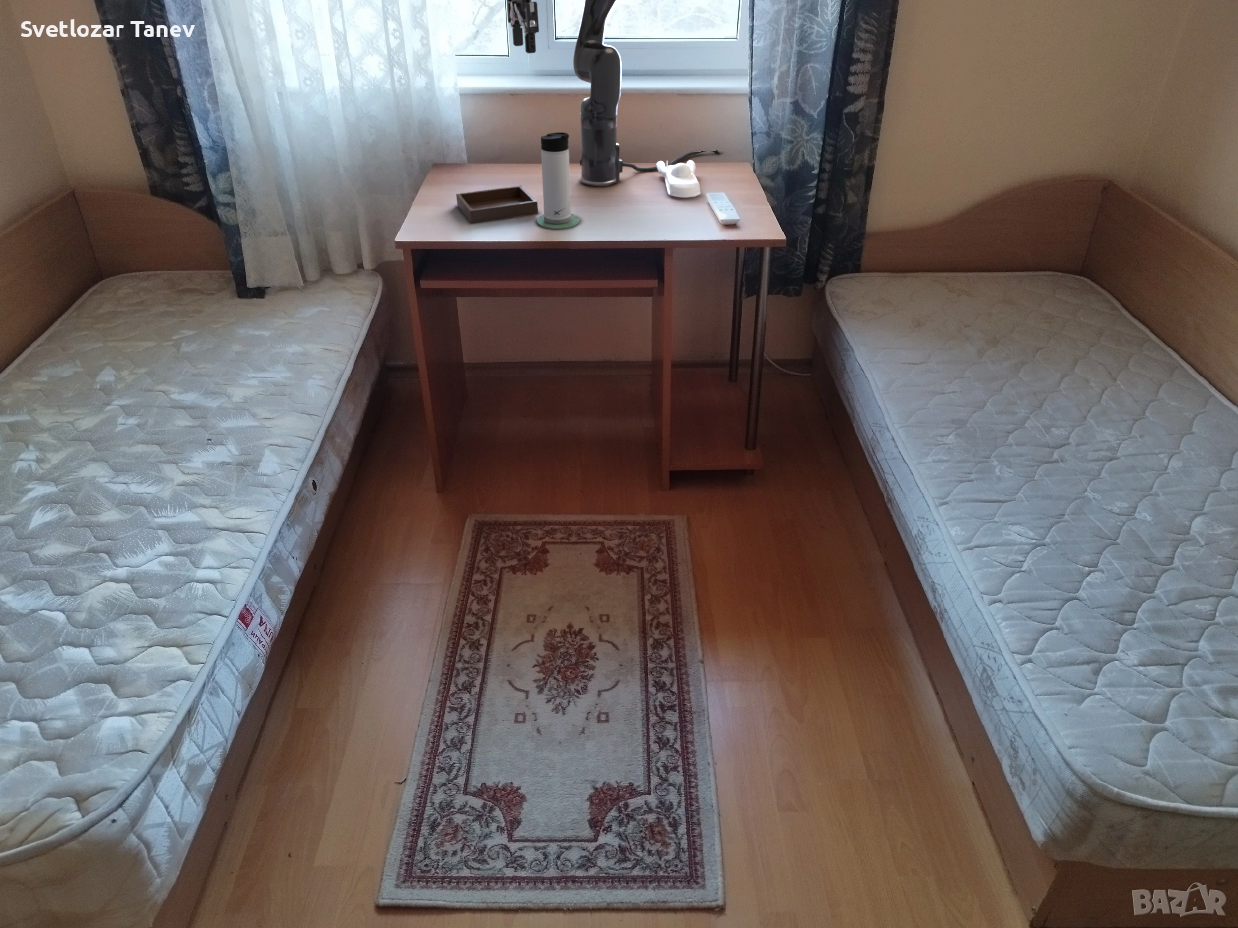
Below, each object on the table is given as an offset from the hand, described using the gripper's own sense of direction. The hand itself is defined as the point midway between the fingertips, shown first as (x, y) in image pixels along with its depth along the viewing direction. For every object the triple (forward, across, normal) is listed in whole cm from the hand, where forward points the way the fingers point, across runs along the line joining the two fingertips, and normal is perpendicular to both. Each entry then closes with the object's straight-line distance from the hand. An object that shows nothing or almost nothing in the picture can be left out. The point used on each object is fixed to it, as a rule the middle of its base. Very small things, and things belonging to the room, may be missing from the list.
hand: (524, 49), depth 197 cm
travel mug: (+35, -16, 0) cm, 38 cm away
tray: (+35, -3, +10) cm, 36 cm away
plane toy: (+35, -5, -38) cm, 52 cm away
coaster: (+35, -16, 0) cm, 38 cm away
